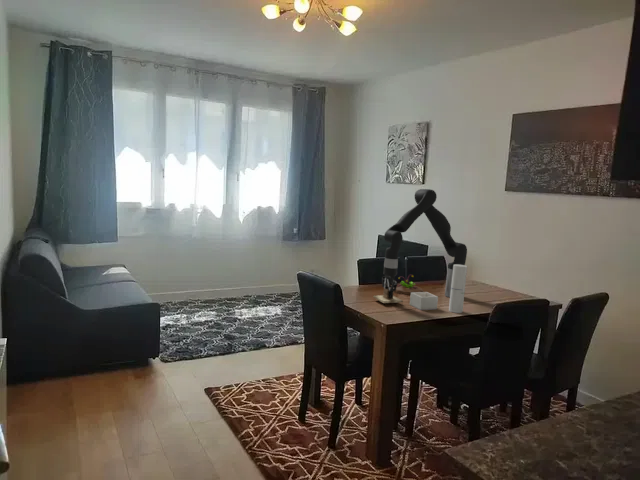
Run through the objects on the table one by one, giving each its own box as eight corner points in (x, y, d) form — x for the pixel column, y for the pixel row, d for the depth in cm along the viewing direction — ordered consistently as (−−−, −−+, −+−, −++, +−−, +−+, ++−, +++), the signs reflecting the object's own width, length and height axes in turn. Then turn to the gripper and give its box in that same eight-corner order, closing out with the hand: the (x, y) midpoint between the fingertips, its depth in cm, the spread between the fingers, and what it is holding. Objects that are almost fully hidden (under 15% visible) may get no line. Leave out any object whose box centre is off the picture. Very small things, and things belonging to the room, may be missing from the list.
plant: (424, 297, 280) (426, 278, 279) (392, 294, 282) (393, 276, 281) (421, 289, 300) (422, 272, 298) (390, 287, 302) (392, 270, 300)
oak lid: (391, 296, 266) (392, 286, 266) (402, 302, 255) (403, 291, 255) (373, 297, 262) (374, 287, 261) (383, 303, 251) (384, 292, 250)
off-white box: (425, 304, 262) (426, 292, 261) (436, 309, 252) (438, 296, 251) (409, 304, 258) (410, 292, 257) (420, 310, 248) (421, 297, 247)
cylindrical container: (446, 309, 254) (451, 264, 251) (459, 309, 254) (464, 264, 251) (451, 312, 247) (456, 266, 244) (464, 313, 247) (469, 267, 244)
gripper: (403, 269, 251) (400, 299, 253) (390, 264, 264) (387, 293, 266) (391, 269, 248) (388, 300, 251) (378, 264, 262) (376, 293, 264)
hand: (388, 296), depth 259 cm, fingers open, 4 cm apart
